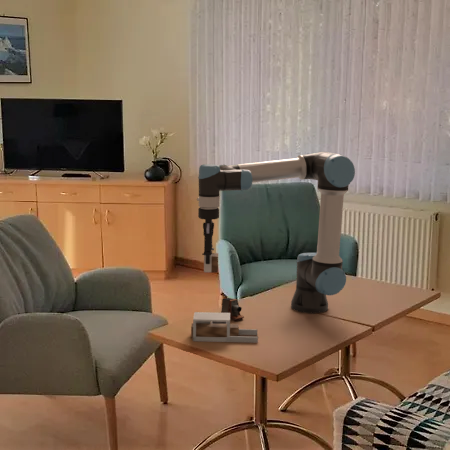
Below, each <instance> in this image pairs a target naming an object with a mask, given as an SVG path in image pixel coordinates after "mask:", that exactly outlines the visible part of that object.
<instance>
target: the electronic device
mask: <svg viewBox="0 0 450 450" xmlns="http://www.w3.org/2000/svg"><path fill="white" fill-rule="evenodd" d="M221 301H222V302H221V311H220V313H230V320H233V321H234V322H238V321H243V319H244V318H245V316H244V315H242V314H241V311H242V309H243V307H241V306H240V305H239V301H238V299H237V298H231V297H225V298H222V299H221Z"/></svg>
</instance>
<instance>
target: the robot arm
mask: <svg viewBox="0 0 450 450" xmlns="http://www.w3.org/2000/svg"><path fill="white" fill-rule="evenodd" d="M355 172H356V169H355V165H354V163H353V161H352V160H351V159H350V158H349V157H347V156H346V155H343V154H340V153H334V152H330V151H329V152H328V151H319V152H313V153H306V154H299V155H298V156H297V157H296V158H286V159H279V160H278V159H277V160H268V161H258V162H248V163H239V164H231V165H230V164H229V165H226V164H217V163H216V164H215V163H214V164H213V163H212V164H211V163H206V164H200V165H199V167H198V177H197V178H198V197H197V198H196V201H198V219H200V220H205V221H204V222H203V223H202V228H203V237H204V241H203V243H204V245H203V246H204V248H203V250H204V251H203V253H202V256H203V273H209V272H211V270H212V253H213V251H215V248H214V247H213V236H214V229H215V222H214V221H213V220H218V219H219V218H220V209H219V207H220V201H221V200H220V196H221V195H220V192H221V191H223V192H225V191H226V192H227V191H241V192H243V191H249V190H250V189H251V188H252V186H253V183H258V182H259V183H261V182H270V181H279V180H288V179H297V178H298V179H299V180H314V181H317V190H318V192H320V201H319V202H320V203H319V204H320V206H319V217H318V229H317V230H318V233H317V246H316V252H303V253H300V254H298V255H297V261H296V279H295V280H296V283H295V284H296V285H295V291H294V293H293V295H292V296H293V297H292V298H291V302H290V303H291V305H290V308H291V309H292V310H294V311H296V312H298V313H299V312H301V313H306V314H319V313H321V314H322V313H324V312H326V311H328V310H329V301H328V299H327V298H328V297H327V296H335V295H337V294H339V293H340V292H341V291H342V290H343V289H344V288H345V286H346V283H347V275H346V272H345V271H344V270H343V258H342V257H341V256H340V249H341V248H340V247H341V236H342V224H343V223H342V222H343V221H342V220H343V210H344V209H343V207H344V196H345V194H346V193H348V192H349V185H350V184H351V183H352V182H353V180H354V179H355V174H356V173H355Z"/></svg>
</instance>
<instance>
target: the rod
mask: <svg viewBox="0 0 450 450" xmlns="http://www.w3.org/2000/svg"><path fill="white" fill-rule="evenodd" d="M239 325H240V324H239V323H230V336H240V335H239V329H240V326H239ZM190 328H191V329H190V333H191V334H190V339H193V322H192V323H191V326H190ZM196 337H227V324H209V323H196Z"/></svg>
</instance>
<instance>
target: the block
mask: <svg viewBox="0 0 450 450" xmlns="http://www.w3.org/2000/svg"><path fill="white" fill-rule="evenodd" d="M218 271H219V253H218V252H217V253H216V252H215V253H214V252H212V270H211V272H208V273H214V274H216V273H217V274H218Z"/></svg>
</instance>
